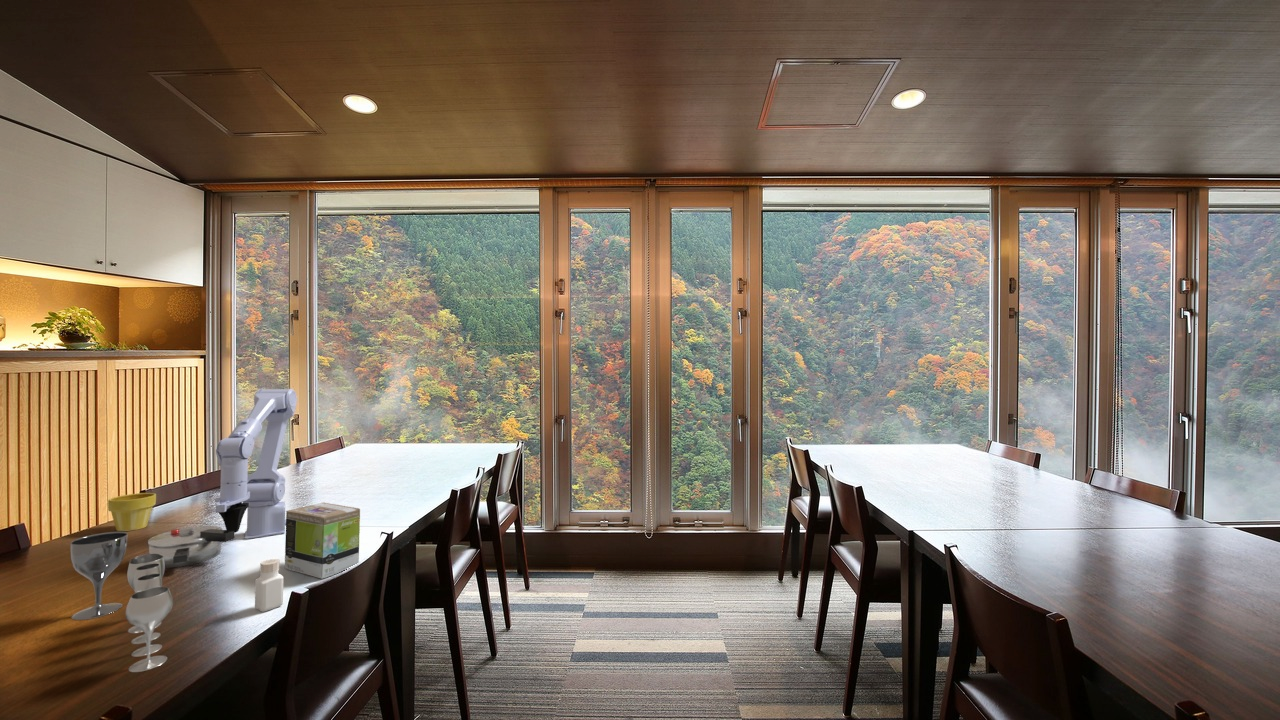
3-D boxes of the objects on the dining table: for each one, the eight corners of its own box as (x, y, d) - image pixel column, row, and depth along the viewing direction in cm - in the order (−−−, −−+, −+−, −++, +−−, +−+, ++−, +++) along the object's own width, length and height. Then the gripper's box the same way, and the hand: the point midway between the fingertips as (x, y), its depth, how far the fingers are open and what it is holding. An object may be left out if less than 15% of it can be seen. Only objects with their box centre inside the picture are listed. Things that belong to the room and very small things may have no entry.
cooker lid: (131, 545, 126) (132, 536, 126) (190, 527, 140) (190, 519, 140) (202, 550, 123) (202, 541, 123) (254, 531, 137) (254, 523, 137)
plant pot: (128, 523, 159) (129, 492, 159) (164, 522, 160) (165, 492, 161) (97, 534, 149) (98, 501, 149) (135, 533, 150) (136, 500, 150)
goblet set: (123, 617, 100) (125, 551, 101) (163, 608, 105) (164, 544, 105) (124, 679, 81) (126, 596, 81) (172, 664, 85) (174, 585, 85)
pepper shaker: (262, 613, 103) (263, 566, 103) (253, 608, 105) (254, 562, 105) (284, 605, 106) (285, 560, 106) (275, 601, 108) (276, 556, 108)
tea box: (360, 565, 128) (361, 507, 128) (321, 580, 119) (322, 518, 119) (322, 555, 134) (324, 500, 134) (282, 569, 125) (284, 509, 125)
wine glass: (136, 603, 106) (138, 532, 107) (92, 622, 98) (94, 545, 99) (103, 601, 107) (105, 530, 107) (56, 619, 99) (58, 543, 99)
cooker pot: (153, 555, 133) (154, 536, 133) (222, 544, 141) (222, 526, 142) (139, 581, 117) (139, 559, 117) (217, 567, 126) (217, 547, 126)
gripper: (229, 476, 142) (228, 525, 142) (201, 488, 128) (200, 542, 128) (258, 475, 144) (257, 523, 144) (234, 487, 130) (233, 539, 130)
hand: (232, 532), depth 136 cm, fingers closed
